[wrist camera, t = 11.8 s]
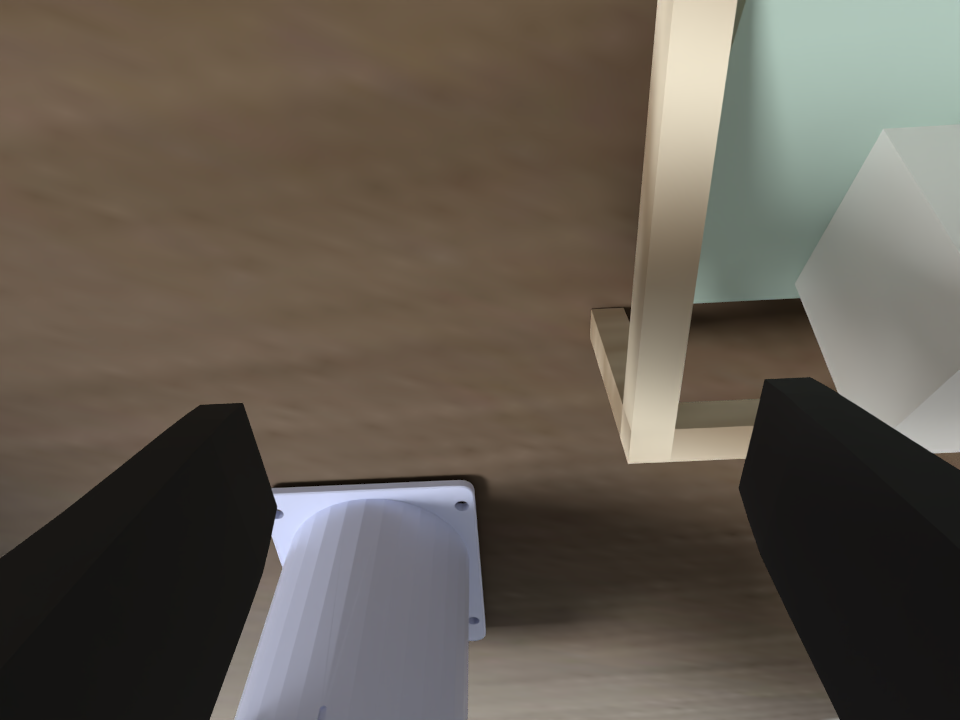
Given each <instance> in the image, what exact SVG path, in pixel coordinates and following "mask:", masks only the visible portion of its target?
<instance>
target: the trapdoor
mask: <svg viewBox="0 0 960 720" xmlns="http://www.w3.org/2000/svg"><path fill="white" fill-rule="evenodd" d="M956 124H960V0H737V7H736V14H735V21H734V27H733V34H732V41H731V48H730V55H729V62H728V69H727V75H726V82H725V89H724V96H723V103H722V110H721V116H720V123H719V130H718V137H717V144H716V151H715V158H714V164H713V171H712V178H711V185H710V192H709V199H708V205H707V212H706V219H705V226H704V233H703V240H702V246H701V253H700V260H699V267H698V274H697V281H696V288H695V294H694V301H693V303H712V302H731V301H751V300H771V299H790V298H800V296H799V293H798V291H797V288H796V286H795V282H796V280H797V279H798V277H799V275H800V273H801V272H802V270H803V268H804V266H805V265H806V263H807V261H808V259H809V258H810V256H811V254H812V252H813V251H814V249H815V247H816V245H817V244H818V242H819V240H820V238H821V237H822V235H823V233H824V231H825V230H826V228H827V226H828V224H829V223H830V221H831V219H832V217H833V216H834V214H835V212H836V210H837V209H838V207H839V205H840V203H841V202H842V200H843V198H844V196H845V195H846V193H847V191H848V190H849V188H850V186H851V184H852V183H853V181H854V179H855V177H856V176H857V174H858V172H859V170H860V169H861V167H862V165H863V163H864V162H865V160H866V158H867V156H868V155H869V153H870V151H871V149H872V148H873V146H874V144H875V142H876V141H877V139H878V137H879V135H880V134H881V132H882V130H883V129H887V128H904V127H921V126H939V125H956Z"/></svg>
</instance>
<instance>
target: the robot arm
mask: <svg viewBox="0 0 960 720" xmlns="http://www.w3.org/2000/svg"><path fill="white" fill-rule="evenodd" d="M739 491H740V494H741V497H742V501H743V504H744V507H745V510H746V513H747V517H748V520H749V523H750V526H751V529H752V532H753V535H754V537H755V540H756V543H757V546H758V549H759V552H760V555H761V557H762V559H763V561H764V563H765V565H766V568H767V570H768V572H769V574H770V576H771V578H772V580H773V582H774V585H775V587H776V589H777V591H778V593H779V595H780V597H781V599H782V601H783V603H784V606H785V608H786V610H787V612H788V614H789V616H790V618H791V620H792V622H793V624H794V626H795V628H796V630H797V632H798V634H799V636H800V638H801V640H802V643H803V645H804V647H805V649H806V651H807V653H808V655H809V657H810V659H811V661H812V663H813V665H814V667H815V669H816V671H817V673H818V675H819V677H820V679H821V682H822V684H823V686H824V688H825V690H826V692H827V694H828V696H829V698H830V700H831V702H832V704H833V706H834V708H835V710H836V712H837V714H838V717H839V719H840V720H960V470H959V469H957V468H956V467H954V466H952V465H951V464H949V463H948V462H946V461H944V460H943V459H941V458H940V457H938V456H936V455H935V454H933V453H932V452H930V451H928V450H927V449H925V448H924V447H922V446H921V445H919V444H917V443H916V442H914V441H913V440H911V439H910V438H908V437H906V436H905V435H903V434H902V433H900V432H899V431H897V430H895V429H894V428H892V427H891V426H889V425H888V424H886V423H885V422H883V421H881V420H880V419H878V418H877V417H875V416H874V415H872V414H870V413H869V412H867V411H866V410H864V409H863V408H861V407H859V406H858V405H856V404H855V403H853V402H851V401H850V400H848V399H847V398H845V397H843V396H842V395H840V394H839V393H837V392H835V391H834V390H832V389H830V388H829V387H827V386H825V385H823V384H822V383H820V382H818V381H816V380H814V379H813V378H811V377H807V378H785V379H765V381H764V385H763V389H762V393H761V397H760V401H759V406H758V410H757V414H756V418H755V422H754V426H753V431H752V435H751V439H750V443H749V447H748V451H747V456H746V460H745V464H744V468H743V472H742V476H741V480H740V485H739ZM459 501H465V502H466V503H458V502H459ZM277 509H279V510H281V511H277ZM271 535H272V538H273V541H274V544H275V547H276V550H277V553H278V556H279V559H280V562H281V565H282V567H283V569H282V572H281V575H280V578H279V581H278V584H277V588H276V591H275V594H274V597H273V600H272V603H271V606H270V609H269V613H268V616H267V619H266V622H265V625H264V628H263V631H262V635H261V638H260V641H259V644H258V647H257V650H256V653H255V656H254V660H253V663H252V666H251V669H250V672H249V675H248V678H247V681H246V685H245V688H244V691H243V694H242V697H241V700H240V703H239V706H238V710H237V713H236V716H235V719H234V720H468V642H469V641H477V640H481V639H483V638H484V637H485V635H486V623H485V611H484V599H483V587H482V575H481V562H480V550H479V538H478V526H477V514H476V502H475V490H474V487H473V485H472V484H471V483H470V482H468V481H466V480H447V481H424V482H401V483H378V484H355V485H332V486H310V487H287V488H271V486H270V483H269V480H268V477H267V474H266V471H265V468H264V465H263V462H262V459H261V456H260V453H259V450H258V447H257V444H256V441H255V438H254V435H253V432H252V429H251V426H250V423H249V420H248V417H247V414H246V411H245V408H244V405H243V403H232V404H210V405H199V406H198V407H197V408H195V409H194V410H192V411H191V412H189V413H188V414H187V415H185V416H184V417H182V418H181V419H180V420H179V421H177V422H176V423H175V424H173V425H172V426H171V427H169V428H168V429H167V430H166V431H164V432H163V433H162V434H161V435H159V436H158V437H157V438H155V439H154V440H153V441H152V442H150V443H149V444H148V445H147V446H145V447H144V448H143V449H142V450H141V451H139V452H138V453H137V454H136V455H134V456H133V457H132V458H131V459H129V460H128V461H127V462H126V463H124V464H123V465H122V466H121V467H119V468H118V469H117V470H116V471H114V472H113V473H112V474H111V475H109V476H108V477H107V478H105V479H104V480H103V481H102V482H100V483H99V484H98V485H97V486H95V487H94V488H93V489H92V490H90V491H89V492H88V493H87V494H85V495H84V496H83V497H82V498H80V499H79V500H78V501H76V502H75V503H74V504H73V505H71V506H70V507H69V508H68V509H66V510H65V511H64V512H62V513H61V514H60V515H58V516H57V517H56V518H54V519H53V520H52V521H50V522H49V523H48V524H46V525H45V526H44V527H42V528H41V529H40V530H38V531H37V532H35V533H34V534H33V535H31V536H30V537H29V538H27V539H26V540H25V541H23V542H22V543H21V544H19V545H18V546H17V547H15V548H14V549H13V550H11V551H10V552H8V553H7V554H6V555H4V556H3V557H2V558H0V720H210V717H211V714H212V711H213V709H214V706H215V703H216V701H217V698H218V695H219V692H220V690H221V687H222V684H223V682H224V679H225V676H226V673H227V671H228V668H229V665H230V663H231V660H232V657H233V654H234V652H235V649H236V646H237V644H238V641H239V638H240V635H241V633H242V630H243V627H244V624H245V622H246V619H247V616H248V613H249V611H250V608H251V605H252V602H253V599H254V597H255V594H256V591H257V588H258V585H259V582H260V579H261V577H262V574H263V570H264V566H265V561H266V557H267V553H268V549H269V545H270V540H271Z"/></svg>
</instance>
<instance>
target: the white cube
mask: <svg viewBox="0 0 960 720" xmlns="http://www.w3.org/2000/svg"><path fill="white" fill-rule="evenodd" d="M795 286H796V288H797V291H798V293H799V296H800V299H801V301H802V304H803V306H804V309H805V311H806V314H807V316H808V319H809V321H810V324H811V326H812V329H813V331H814V334H815V336H816V339H817V341H818V344H819V346H820V349H821V351H822V354H823V356H824V359H825V361H826V364H827V366H828V369H829V371H830V374H831V376H832V379H833V381H834V384H835V386H836V389H837V391H838V393H839V394H840V395H842V396H843V397H845V398H847V399H848V400H850V401H851V402H853V403H855V404H856V405H858V406H859V407H861V408H863V409H864V410H866V411H867V412H869V413H870V414H872V415H874V416H875V417H877V418H878V419H880V420H881V421H883V422H885V423H886V424H888V425H889V426H891V427H892V428H894V429H895V430H897V431H899V432H900V433H902V434H903V435H905V436H906V437H908V438H910V439H911V440H913V441H914V442H916V443H917V444H919V445H921V446H922V447H924V448H925V449H927V450H928V451H930V452H932V453H949V452H960V124H956V125H939V126H921V127H904V128H887V129H883V130H882V132H881V134H880V135H879V137H878V139H877V141H876V142H875V144H874V146H873V148H872V149H871V151H870V153H869V155H868V156H867V158H866V160H865V162H864V163H863V165H862V167H861V169H860V170H859V172H858V174H857V176H856V177H855V179H854V181H853V183H852V184H851V186H850V188H849V190H848V191H847V193H846V195H845V196H844V198H843V200H842V202H841V203H840V205H839V207H838V209H837V210H836V212H835V214H834V216H833V217H832V219H831V221H830V223H829V224H828V226H827V228H826V230H825V231H824V233H823V235H822V237H821V238H820V240H819V242H818V244H817V245H816V247H815V249H814V251H813V252H812V254H811V256H810V258H809V259H808V261H807V263H806V265H805V266H804V268H803V270H802V272H801V273H800V275H799V277H798V279H797V280H796V282H795Z"/></svg>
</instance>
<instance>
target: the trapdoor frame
mask: <svg viewBox="0 0 960 720" xmlns="http://www.w3.org/2000/svg"><path fill="white" fill-rule="evenodd" d="M736 7H737V0H658V2H657V14H656V25H655V37H654V49H653V60H652V72H651V84H650V95H649V107H648V118H647V130H646V142H645V153H644V165H643V177H642V188H641V200H640V212H639V223H638V235H637V246H636V258H635V270H634V281H633V293H632V305H631V316H630V322H629V320H628V317H627V315H626V313H625V310H624V308H606V309H591V326H590V338H591V342H592V345H593V348H594V352H595V355H596V358H597V362H598V365H599V368H600V372H601V375H602V378H603V382H604V385H605V388H606V392H607V395H608V398H609V402H610V405H611V408H612V411H613V415H614V418H615V421H616V425H617V428H618V431H619V435H620V438H621V441H622V445H623V448H624V451H625V455H626V458H627V461H628V464H632V463H655V462H677V461H700V460H722V459H745V458H746V456H747V451H748V447H749V443H750V439H751V435H752V431H753V426H754V422H755V418H756V414H757V410H758V406H759V401H760V399H748V400H727V401H706V402H684V403H679V397H680V390H681V383H682V377H683V370H684V363H685V356H686V349H687V342H688V335H689V329H690V322H691V315H692V308H693V301H694V294H695V288H696V281H697V274H698V267H699V260H700V253H701V246H702V240H703V233H704V226H705V219H706V212H707V205H708V199H709V192H710V185H711V178H712V171H713V164H714V158H715V151H716V144H717V137H718V130H719V123H720V116H721V110H722V103H723V96H724V89H725V82H726V75H727V69H728V62H729V55H730V48H731V41H732V34H733V27H734V21H735V14H736Z"/></svg>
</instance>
